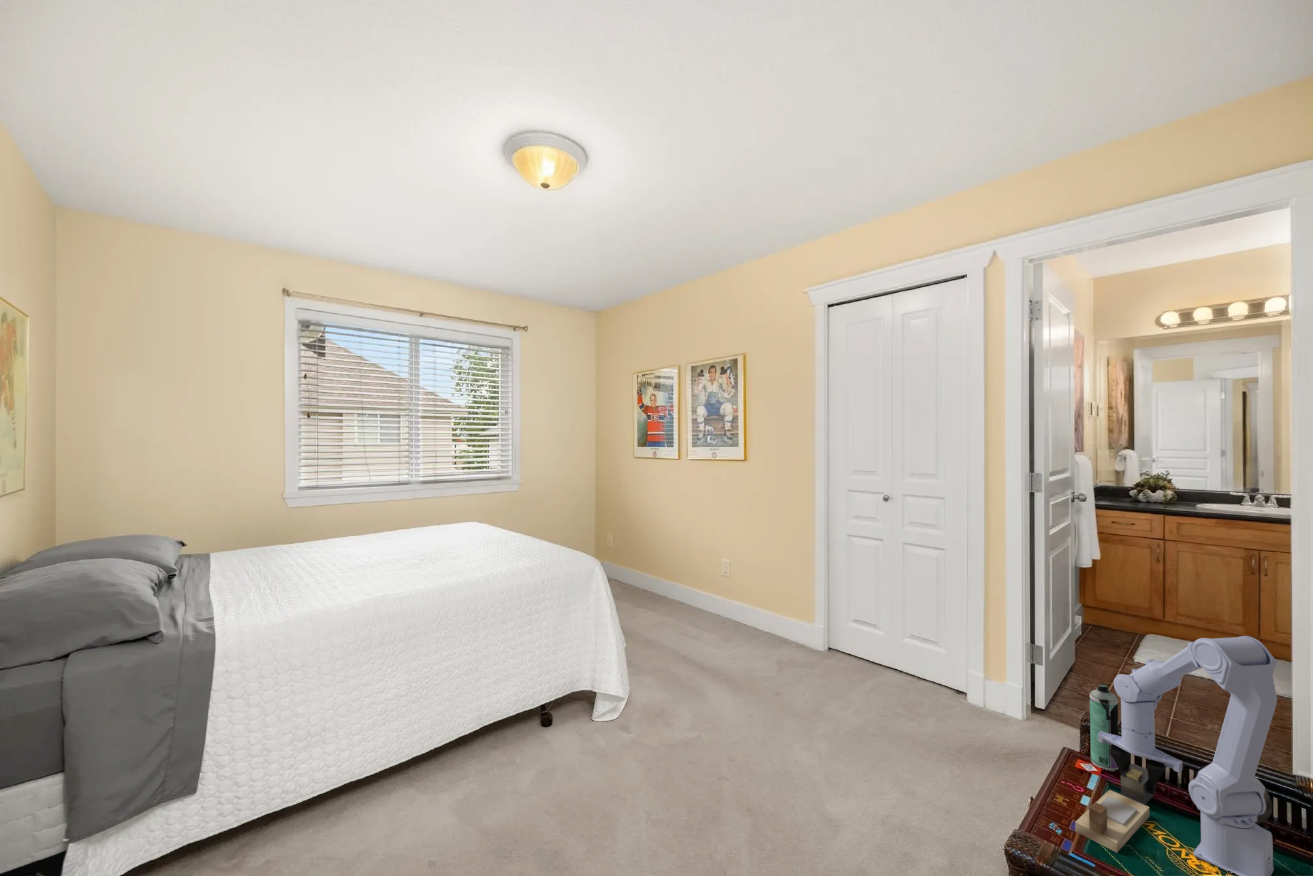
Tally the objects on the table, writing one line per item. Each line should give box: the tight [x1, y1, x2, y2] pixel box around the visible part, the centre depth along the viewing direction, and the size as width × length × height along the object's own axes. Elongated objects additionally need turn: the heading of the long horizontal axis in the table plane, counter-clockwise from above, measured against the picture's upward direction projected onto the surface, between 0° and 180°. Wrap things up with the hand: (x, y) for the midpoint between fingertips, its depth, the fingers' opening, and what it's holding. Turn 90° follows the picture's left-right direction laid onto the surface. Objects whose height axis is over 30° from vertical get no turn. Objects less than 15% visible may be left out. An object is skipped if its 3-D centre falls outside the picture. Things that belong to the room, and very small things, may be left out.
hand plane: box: [1074, 789, 1150, 853], centre depth 116 cm, size 7×18×6 cm, turn 122°
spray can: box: [1089, 684, 1120, 772], centre depth 136 cm, size 6×6×20 cm
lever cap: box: [1120, 763, 1156, 806], centre depth 123 cm, size 4×7×6 cm, turn 122°
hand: (1138, 786), depth 124 cm, fingers open, 4 cm apart
